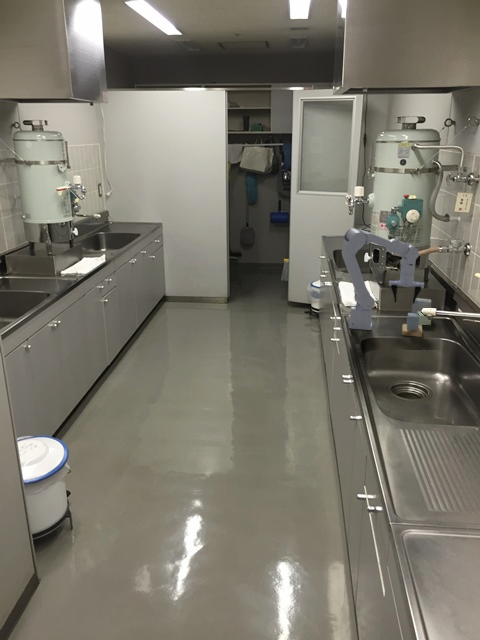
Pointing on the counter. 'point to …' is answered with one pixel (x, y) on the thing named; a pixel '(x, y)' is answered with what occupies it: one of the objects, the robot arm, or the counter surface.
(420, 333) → the oak block
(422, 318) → the green block
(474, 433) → the counter surface
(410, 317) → the blue block
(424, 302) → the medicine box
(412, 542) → the counter surface
